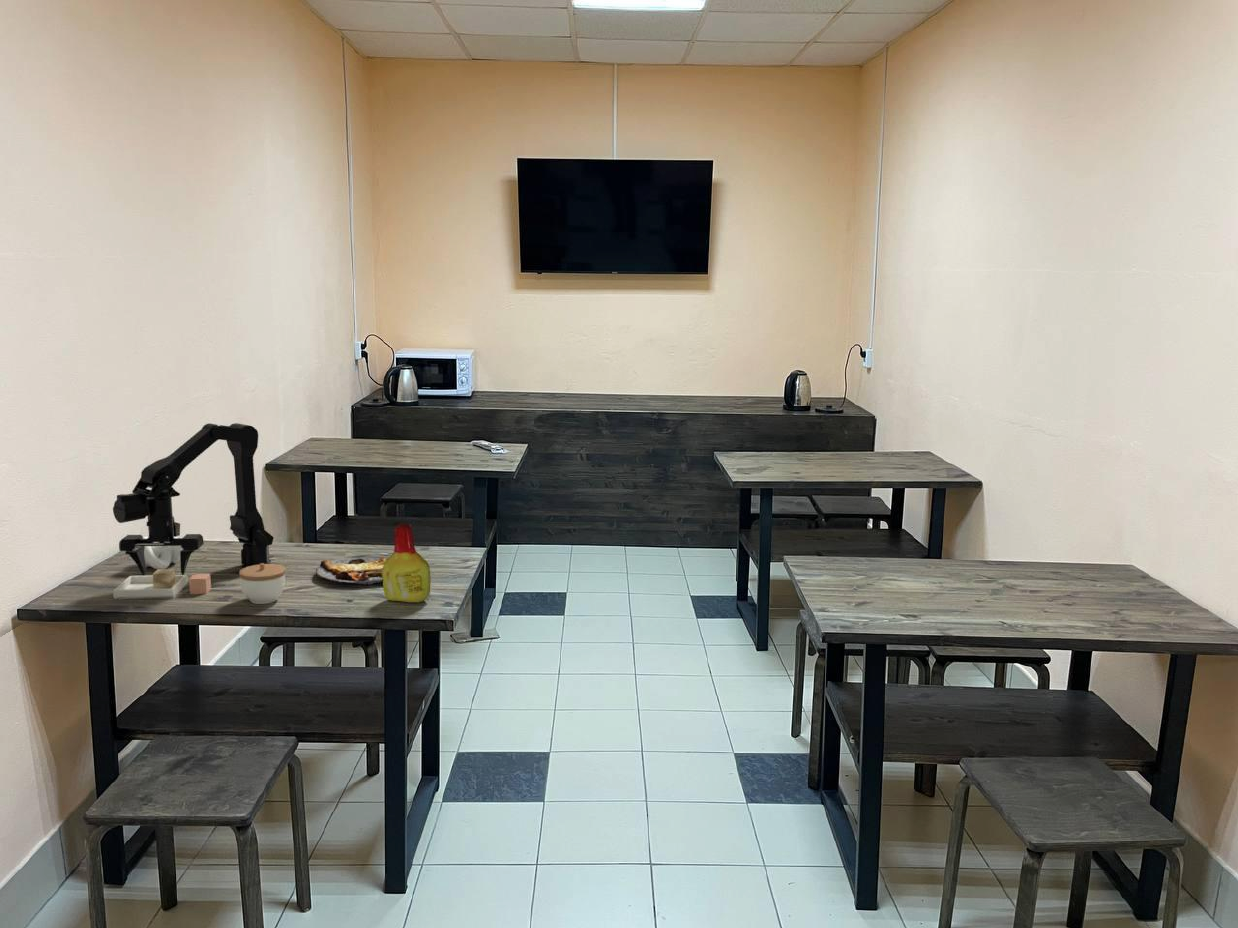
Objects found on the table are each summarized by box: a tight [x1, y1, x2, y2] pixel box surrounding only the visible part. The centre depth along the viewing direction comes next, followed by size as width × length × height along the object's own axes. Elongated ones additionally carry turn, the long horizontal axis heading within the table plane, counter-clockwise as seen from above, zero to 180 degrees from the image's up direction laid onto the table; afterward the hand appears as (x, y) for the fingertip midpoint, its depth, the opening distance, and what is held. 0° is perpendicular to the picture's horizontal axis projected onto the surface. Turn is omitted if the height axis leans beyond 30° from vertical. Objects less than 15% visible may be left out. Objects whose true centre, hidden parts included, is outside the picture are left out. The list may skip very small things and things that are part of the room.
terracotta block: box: [188, 573, 212, 595], centre depth 244 cm, size 4×4×4 cm
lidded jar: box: [238, 563, 286, 605], centre depth 239 cm, size 11×11×9 cm
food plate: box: [315, 554, 391, 586], centre depth 262 cm, size 25×23×4 cm
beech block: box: [152, 568, 176, 589], centre depth 246 cm, size 4×4×4 cm
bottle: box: [381, 523, 431, 603], centre depth 240 cm, size 12×6×20 cm, turn 83°
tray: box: [112, 574, 189, 600], centre depth 244 cm, size 14×12×2 cm
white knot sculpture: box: [143, 535, 183, 570], centre depth 263 cm, size 11×12×9 cm
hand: (164, 574), depth 246 cm, fingers open, 9 cm apart
